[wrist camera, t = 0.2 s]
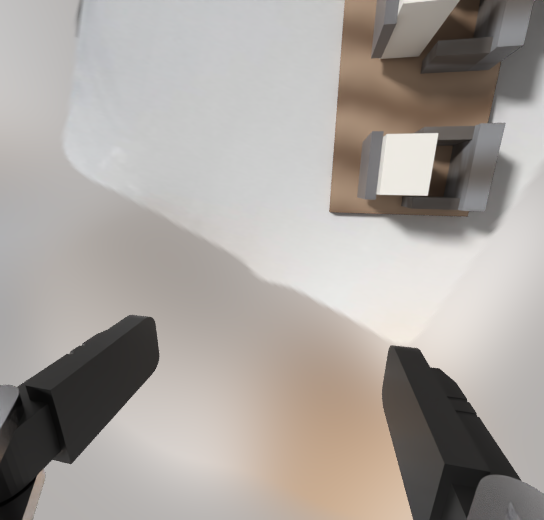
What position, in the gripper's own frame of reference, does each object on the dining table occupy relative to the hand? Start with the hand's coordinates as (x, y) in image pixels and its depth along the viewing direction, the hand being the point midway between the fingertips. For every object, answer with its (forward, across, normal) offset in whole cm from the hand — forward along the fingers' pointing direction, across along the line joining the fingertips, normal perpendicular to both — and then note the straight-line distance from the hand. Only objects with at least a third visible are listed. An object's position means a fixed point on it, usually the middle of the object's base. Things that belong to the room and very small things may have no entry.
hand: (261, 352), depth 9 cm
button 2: (+27, -8, -21) cm, 35 cm away
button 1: (+27, -8, -7) cm, 29 cm away
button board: (+29, -11, -14) cm, 34 cm away
